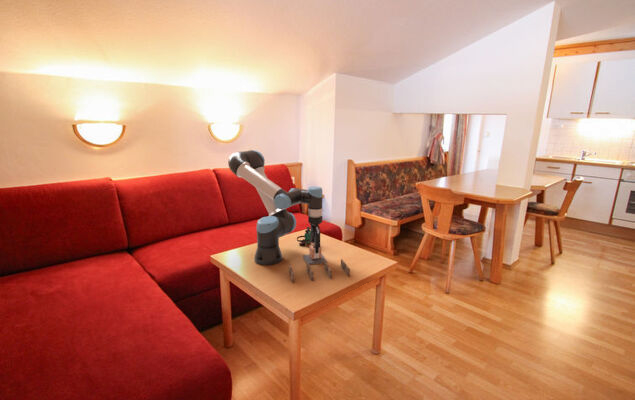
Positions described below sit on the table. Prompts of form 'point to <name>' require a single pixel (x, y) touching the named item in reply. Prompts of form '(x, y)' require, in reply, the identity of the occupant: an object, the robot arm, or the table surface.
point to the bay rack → (326, 267)
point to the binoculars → (307, 238)
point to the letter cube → (311, 251)
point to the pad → (314, 260)
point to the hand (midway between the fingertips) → (315, 255)
